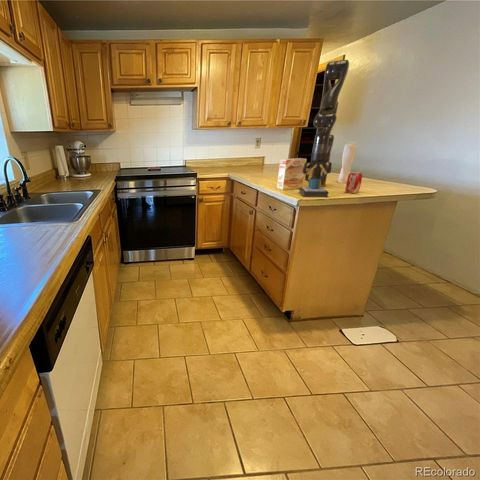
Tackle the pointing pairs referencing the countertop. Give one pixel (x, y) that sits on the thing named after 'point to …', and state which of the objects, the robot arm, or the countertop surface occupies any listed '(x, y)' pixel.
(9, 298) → the countertop surface
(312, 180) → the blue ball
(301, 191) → the scale
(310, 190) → the scale pan
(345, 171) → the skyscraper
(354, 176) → the soda can
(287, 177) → the coffeecake box
